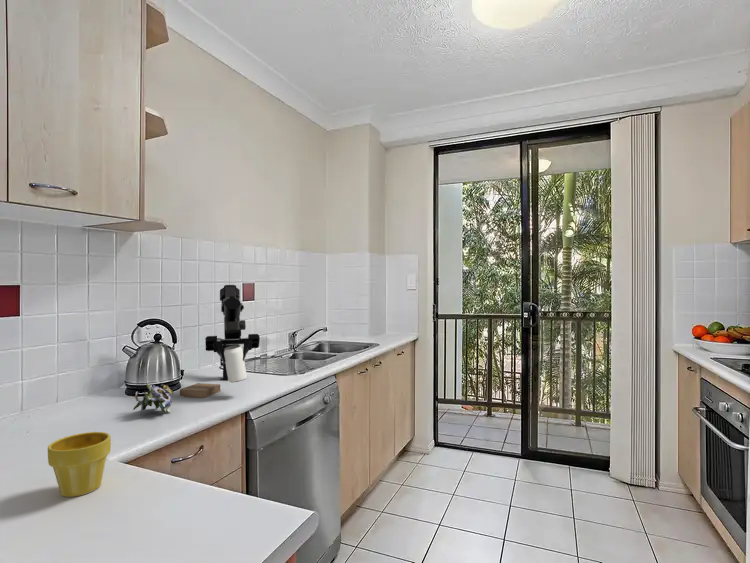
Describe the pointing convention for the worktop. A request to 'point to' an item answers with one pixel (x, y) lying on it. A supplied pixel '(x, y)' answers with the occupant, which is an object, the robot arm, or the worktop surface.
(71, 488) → the plant pot
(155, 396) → the passion flower
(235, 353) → the can
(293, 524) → the worktop surface
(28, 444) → the worktop surface
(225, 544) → the worktop surface
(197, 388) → the walnut block
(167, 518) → the worktop surface
